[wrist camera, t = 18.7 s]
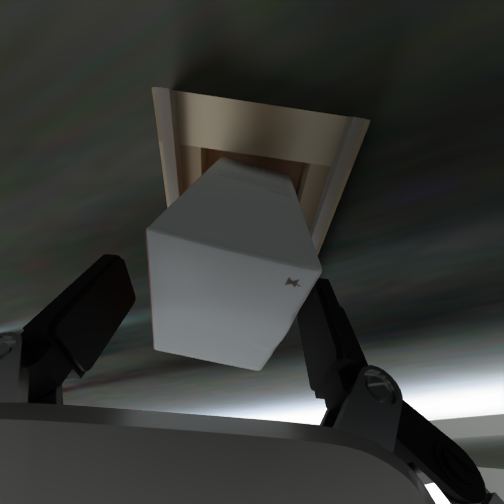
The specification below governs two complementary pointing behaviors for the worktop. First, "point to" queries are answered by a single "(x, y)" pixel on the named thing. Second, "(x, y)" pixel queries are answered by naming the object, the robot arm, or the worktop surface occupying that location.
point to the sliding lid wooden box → (259, 147)
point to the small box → (230, 266)
